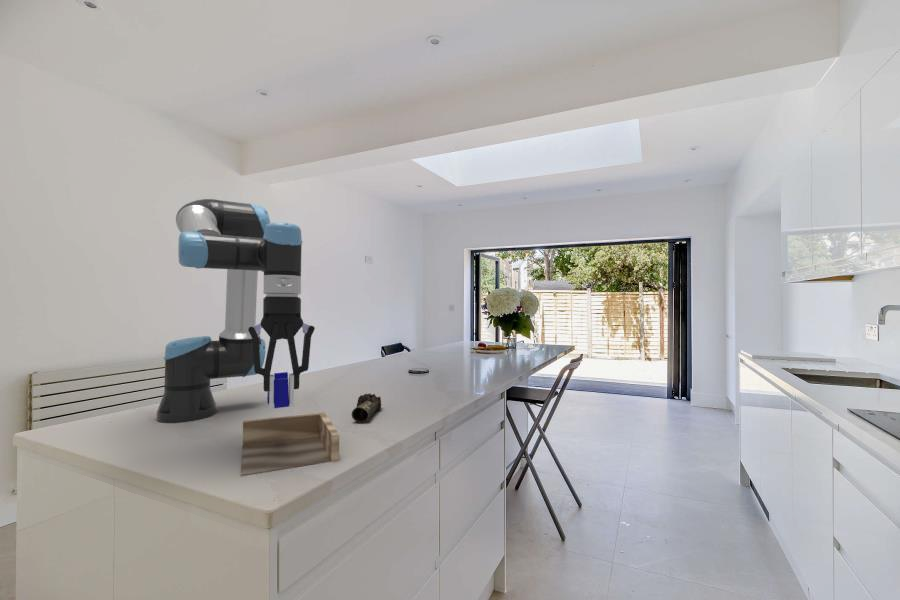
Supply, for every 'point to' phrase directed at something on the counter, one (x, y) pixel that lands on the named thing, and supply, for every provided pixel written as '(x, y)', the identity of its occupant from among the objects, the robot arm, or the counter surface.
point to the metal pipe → (366, 407)
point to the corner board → (288, 443)
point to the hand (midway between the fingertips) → (281, 405)
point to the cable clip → (280, 390)
